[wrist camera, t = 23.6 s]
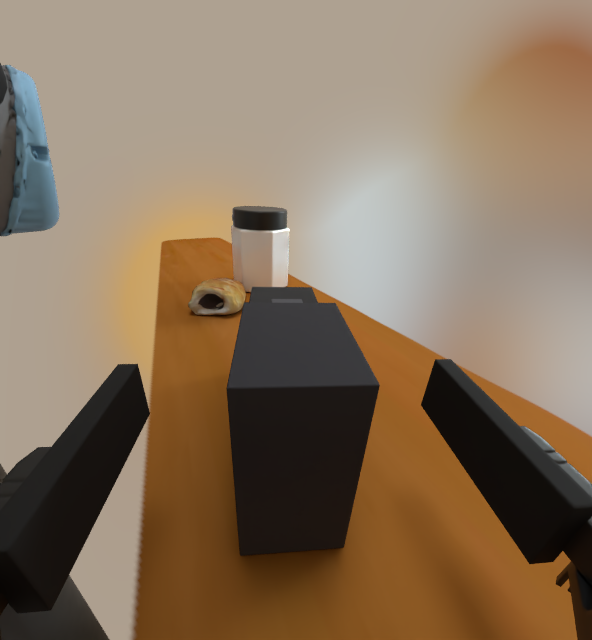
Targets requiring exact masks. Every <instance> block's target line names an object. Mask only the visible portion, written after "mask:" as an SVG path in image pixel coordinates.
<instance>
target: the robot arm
mask: <svg viewBox="0 0 592 640" xmlns="http://www.w3.org/2000/svg"><path fill="white" fill-rule="evenodd" d="M58 219H59V206H58V199H57V193H56V187H55V180H54V175H53V170H52V165H51V160H50V157H49V149H48V145H47V137H46V132H45V127H44V121H43V116H42V112H41V107H40V103H39V98H38V94H37V90H36V86H35V83H34V81H33V79H32V78H31V77H30V76H29V75H28V74H26V73H24V72H22V71H19V70H16V69H15V68H13V67H11V65H3V66H2V65H1V64H0V236H8V235H10V234H12V233H23V232H33V231H43V230H47V229H50V228H52V227H53V226H54V225H55V224H56V223H57V221H58ZM421 406H422V407H423V409H424V410H425V412H426V413H427V415H428V416H429V417H430V419H431V420H432V422H433V423H434V425H435V426H436V428H437V429H438V431H439V432H440V434H441V435H442V436H443V438H444V439H445V441H446V442H447V444H448V445H449V447H450V448H451V450H452V451H453V453H454V454H455V455H456V457H457V458H458V460H459V461H460V463H461V464H462V466H463V467H464V469H465V470H466V472H467V473H468V474H469V476H470V477H471V479H472V480H473V482H474V483H475V485H476V486H477V488H478V489H479V491H480V492H481V494H482V495H483V496H484V498H485V499H486V501H487V502H488V504H489V505H490V507H491V508H492V510H493V511H494V513H495V514H496V515H497V517H498V518H499V520H500V521H501V523H502V524H503V526H504V527H505V529H506V530H507V532H508V533H509V534H510V536H511V537H512V539H513V540H514V542H515V543H516V545H517V546H518V548H519V549H520V551H521V552H522V554H523V555H524V556H525V558H526V559H527V561H528V562H529V564H536V563H546V562H553V561H554V560H555V559H556V558H557V557H558V556H559V554H560V553H561V552H562V551H564V553H565V554H566V555H567V556H568V558H569V559H570V560H571V562H570V563H569V564H568V565H567V567H566V568H565V569H564V570H563V571H562V572H561V573H560V574H559V575H558V576H557V580H556V584H557V585H559V586H560V587H561V586H562V585H563V584H564V583H565V582H566V581H567V580H568V578H569V583H570V587H569V589H568V591H569V592H571V596H572V603H573V610H574V617H575V624H576V631H577V638H578V640H592V484H591V483H590V482H589V481H588V480H587V479H586V478H584V477H583V476H582V475H581V474H580V473H579V472H578V471H577V470H576V469H575V468H574V467H573V466H572V465H571V464H568V463H567V461H566V460H565V459H564V458H563V457H562V456H561V455H560V454H559V453H556V452H555V449H554V448H552V447H551V446H550V445H549V444H548V443H547V442H546V441H545V440H544V439H543V438H542V437H540V436H539V435H537V434H536V433H534V432H533V431H531V430H530V429H528V428H527V427H525V426H518V425H517V424H516V423H515V422H514V421H513V420H512V419H511V418H510V417H509V416H508V415H507V414H506V413H505V412H504V411H503V410H502V409H501V408H500V407H499V406H498V405H497V404H496V403H495V402H494V401H493V400H492V399H491V398H490V397H489V396H488V395H487V394H486V393H485V392H484V391H483V390H482V389H481V388H480V387H479V386H478V385H477V384H475V383H474V382H473V381H472V380H471V379H470V378H469V377H468V376H467V375H466V374H465V373H464V372H463V371H462V370H461V369H460V368H459V367H458V366H457V365H456V364H455V363H454V362H453V361H452V360H451V359H442V360H435V362H434V365H433V368H432V372H431V375H430V378H429V381H428V384H427V388H426V391H425V394H424V397H423V400H422V403H421ZM149 414H150V413H149V408H148V404H147V400H146V396H145V392H144V388H143V384H142V380H141V376H140V372H139V368H138V364H120V365H119V364H118V365H117V367H116V368H115V369H114V370H113V371H112V373H111V374H110V375H109V377H108V378H107V379H106V380H105V381H104V383H103V384H102V385H101V387H100V388H99V389H98V390H97V391H96V393H95V394H94V395H93V396H92V397H91V399H90V400H89V401H88V402H87V404H86V405H85V406H84V407H83V409H82V410H81V411H80V412H79V414H78V415H77V416H76V417H75V419H74V420H73V421H72V422H71V423H70V425H69V426H68V427H67V429H66V430H65V431H64V432H63V433H62V435H61V436H60V437H59V438H58V439H57V441H56V442H55V443H54V444H53V446H52V447H38V448H37V449H36V450H34V451H33V452H31V453H30V454H29V455H28V456H26V457H25V458H23V459H22V460H21V461H19V462H18V463H17V464H16V465H15V467H14V468H13V469H12V470H11V471H10V472H9V473H8V474H7V475H6V477H5V478H4V479H3V482H2V483H0V615H1V613H2V612H3V610H4V609H5V607H6V605H7V604H8V603H9V605H10V606H11V607H12V608H13V609H14V610H15V611H16V612H17V613H27V612H38V611H48V610H51V609H52V607H53V605H54V603H55V601H56V599H57V597H58V595H59V593H60V591H61V589H62V587H63V585H64V583H65V581H66V579H67V577H68V575H69V573H70V571H71V569H72V568H73V565H74V564H75V562H76V560H77V558H78V555H79V553H80V552H81V550H82V548H83V546H84V544H85V542H86V540H87V538H88V536H89V534H90V532H91V530H92V527H93V526H94V524H95V522H96V520H97V518H98V516H99V514H100V512H101V510H102V508H103V506H104V504H105V502H106V500H107V498H108V496H109V494H110V492H111V490H112V488H113V486H114V484H115V482H116V480H117V478H118V476H119V474H120V472H121V470H122V468H123V466H124V464H125V462H126V460H127V458H128V456H129V454H130V452H131V450H132V448H133V446H134V444H135V442H136V440H137V438H138V436H139V434H140V432H141V430H142V428H143V426H144V424H145V422H146V420H147V418H148V416H149ZM0 640H1V629H0Z"/></svg>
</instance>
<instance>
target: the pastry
mask: <svg viewBox="0 0 592 640" xmlns="http://www.w3.org/2000/svg"><path fill="white" fill-rule="evenodd" d="M245 298H246V292H245V288H244V286H243V285H242V283H241V282H240V281H237V280H232V279H229V278H216V279H210V280H207V281H203V282H202V283H201V284H200V285H198V286H196V287H195V289H194V290H193V292H192V299H191V301H190V302H189V303H188V305H189V308H190V309H191V310H193V312H194V313H195V314H197V315H213V314H219V315H227V314H232V313H236V312H237V311H239V310H241V308H242V307H243V305H244V301H245Z"/></svg>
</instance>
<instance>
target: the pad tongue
mask: <svg viewBox="0 0 592 640" xmlns="http://www.w3.org/2000/svg"><path fill="white" fill-rule="evenodd" d="M379 386H380V385H379V383H378V381H377V379H376V377H375V375H374V374H373V372H372V370H371V368H370V366H369V364H368V363H367V361H366V359H365V357H364V355H363V353H362V351H361V350H360V348H359V346H358V344H357V342H356V340H355V339H354V337H353V335H352V333H351V331H350V329H349V327H348V326H347V324H346V322H345V320H344V318H343V316H342V315H341V313H340V311H339V309H338V307H337V305H336V303H303V302H302V299H272V300H271V303H261V302H245V303H244V305H243V310H242V315H241V320H240V325H239V330H238V335H237V340H236V345H235V350H234V355H233V360H232V365H231V370H230V374H229V379H228V384H227V398H228V411H229V424H230V436H231V449H232V461H233V474H234V486H235V499H236V512H237V524H238V537H239V549H240V555H241V556H243V555H256V554H269V553H281V552H294V551H307V550H320V549H333V548H343V547H344V544H345V539H346V535H347V530H348V526H349V521H350V517H351V512H352V508H353V503H354V499H355V494H356V490H357V485H358V481H359V476H360V472H361V467H362V463H363V458H364V454H365V449H366V445H367V440H368V436H369V431H370V426H371V422H372V417H373V413H374V408H375V404H376V399H377V395H378V390H379Z"/></svg>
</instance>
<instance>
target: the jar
mask: <svg viewBox="0 0 592 640" xmlns="http://www.w3.org/2000/svg"><path fill="white" fill-rule="evenodd" d="M232 219H233V225H232V226H231V231H232V232H231V233H232V251H233V269H234V280H237V281H240V282H241V283H242V285H243V286H244V288H245V292H251V289H252V287H286V286H287V285H288V255H289V254H288V253H289V228H286V227H287V210H286V209H282V208H275V207H261V206H241V207H234V208H233V215H232Z"/></svg>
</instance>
